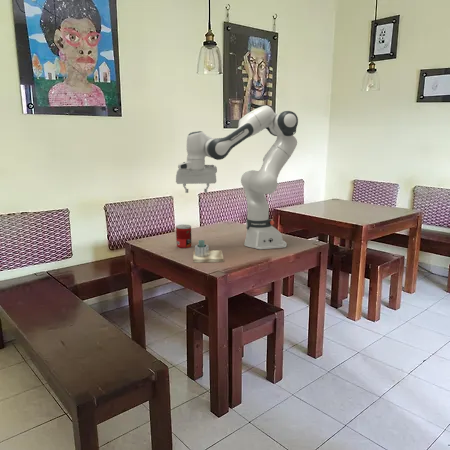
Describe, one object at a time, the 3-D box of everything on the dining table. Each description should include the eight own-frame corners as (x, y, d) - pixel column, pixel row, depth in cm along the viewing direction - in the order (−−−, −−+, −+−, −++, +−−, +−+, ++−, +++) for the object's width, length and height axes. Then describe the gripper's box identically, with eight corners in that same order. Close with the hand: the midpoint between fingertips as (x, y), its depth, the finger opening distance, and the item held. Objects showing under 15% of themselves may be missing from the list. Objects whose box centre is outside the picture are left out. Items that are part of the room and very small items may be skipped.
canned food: (189, 248, 215) (188, 228, 213) (174, 247, 217) (173, 227, 214) (193, 244, 222) (192, 224, 220) (179, 244, 224) (178, 224, 222)
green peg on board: (221, 253, 207) (221, 236, 205) (223, 261, 194) (223, 244, 192) (193, 253, 206) (193, 237, 204) (193, 262, 193) (192, 244, 191)
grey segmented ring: (208, 252, 203) (208, 243, 202) (208, 256, 196) (208, 247, 195) (195, 253, 202) (195, 244, 201) (195, 257, 196) (195, 247, 195)
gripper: (216, 164, 210) (216, 191, 213) (175, 164, 209) (176, 191, 212) (217, 165, 204) (217, 193, 207) (175, 165, 203) (176, 193, 206)
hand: (196, 192), depth 210 cm, fingers open, 8 cm apart
